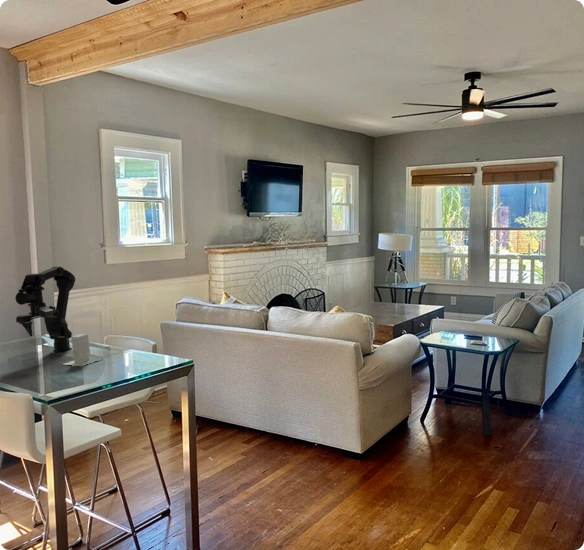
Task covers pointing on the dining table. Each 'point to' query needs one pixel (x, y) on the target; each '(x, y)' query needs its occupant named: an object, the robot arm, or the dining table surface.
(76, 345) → the skincare box
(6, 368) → the dining table surface
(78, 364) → the mat
